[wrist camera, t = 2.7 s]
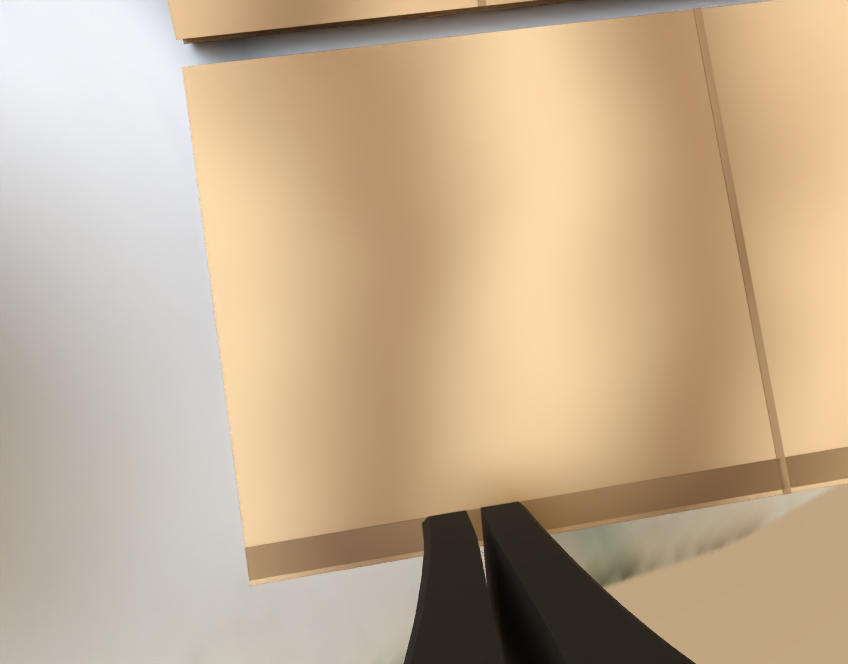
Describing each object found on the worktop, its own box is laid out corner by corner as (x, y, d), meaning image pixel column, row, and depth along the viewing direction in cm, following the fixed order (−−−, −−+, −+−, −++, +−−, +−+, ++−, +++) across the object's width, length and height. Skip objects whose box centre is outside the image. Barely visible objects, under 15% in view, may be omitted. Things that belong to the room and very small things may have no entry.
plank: (260, 570, 15) (250, 586, 13) (196, 92, 15) (182, 66, 14) (1076, 431, 16) (1133, 434, 15) (982, 1, 17) (1030, -30, 16)
